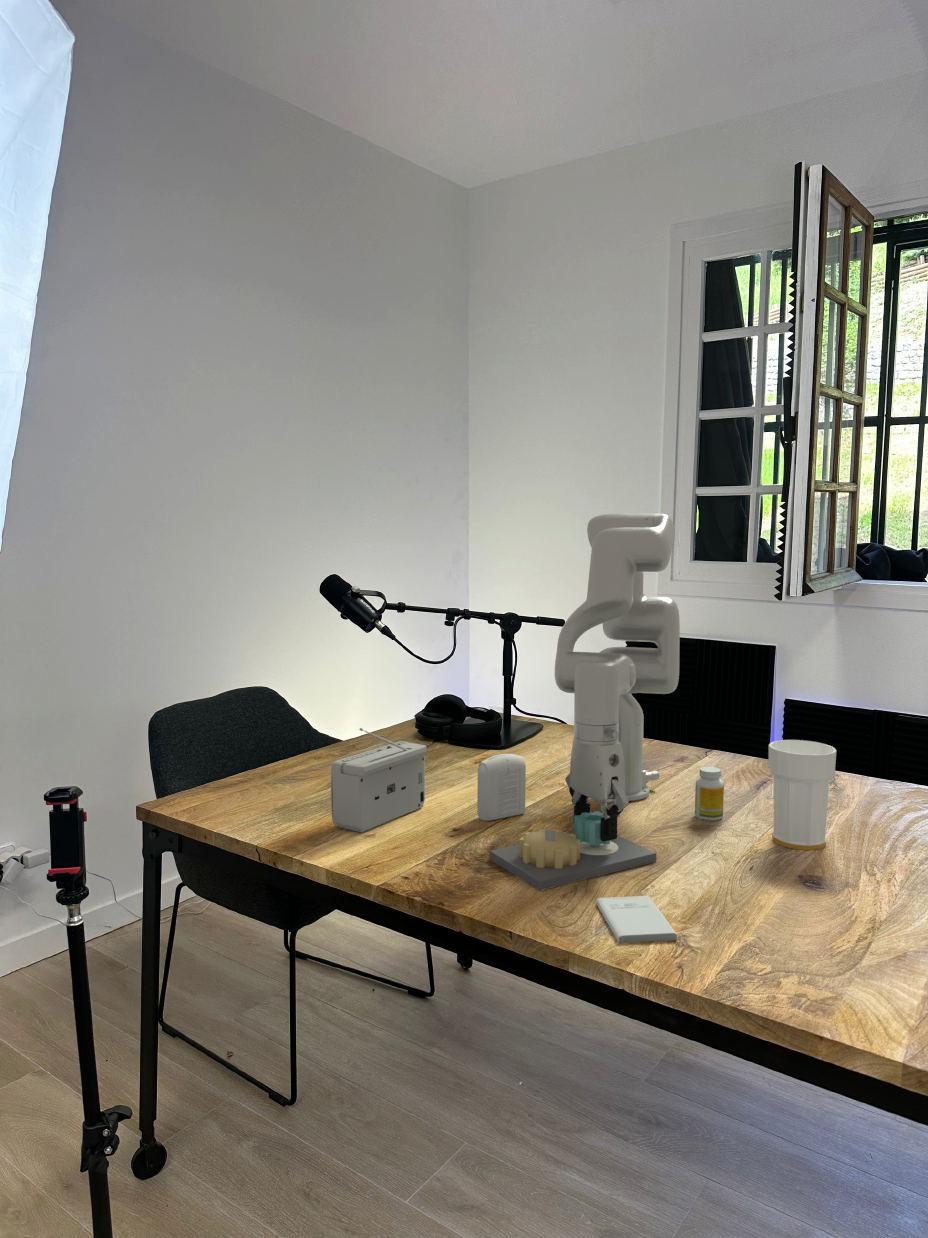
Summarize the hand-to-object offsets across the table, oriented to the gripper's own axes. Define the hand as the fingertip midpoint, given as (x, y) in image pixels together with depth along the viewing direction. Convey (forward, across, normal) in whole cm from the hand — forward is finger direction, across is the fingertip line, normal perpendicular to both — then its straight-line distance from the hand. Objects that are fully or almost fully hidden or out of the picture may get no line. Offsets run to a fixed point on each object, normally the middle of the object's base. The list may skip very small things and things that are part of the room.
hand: (595, 832), depth 147 cm
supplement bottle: (+4, +5, -32) cm, 33 cm away
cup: (+4, -13, -36) cm, 39 cm away
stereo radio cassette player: (+4, +37, +24) cm, 44 cm away
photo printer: (+4, +26, +3) cm, 27 cm away
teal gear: (+1, 0, 0) cm, 1 cm away
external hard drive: (+5, -23, +11) cm, 26 cm away
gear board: (+4, 0, +5) cm, 6 cm away
